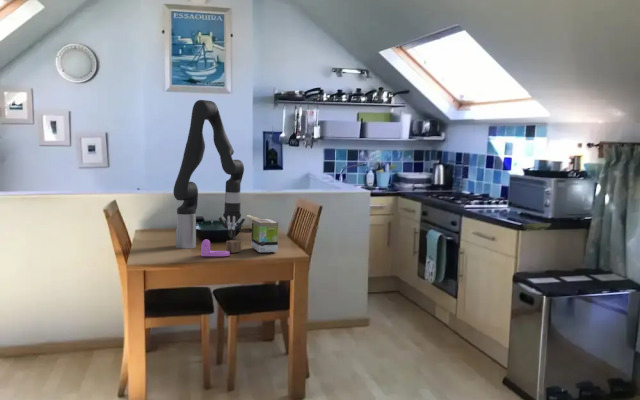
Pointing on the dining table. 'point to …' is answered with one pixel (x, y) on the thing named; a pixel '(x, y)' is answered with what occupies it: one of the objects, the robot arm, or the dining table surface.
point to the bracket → (206, 251)
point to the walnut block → (233, 246)
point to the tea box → (264, 235)
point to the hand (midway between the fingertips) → (231, 237)
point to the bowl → (251, 220)
